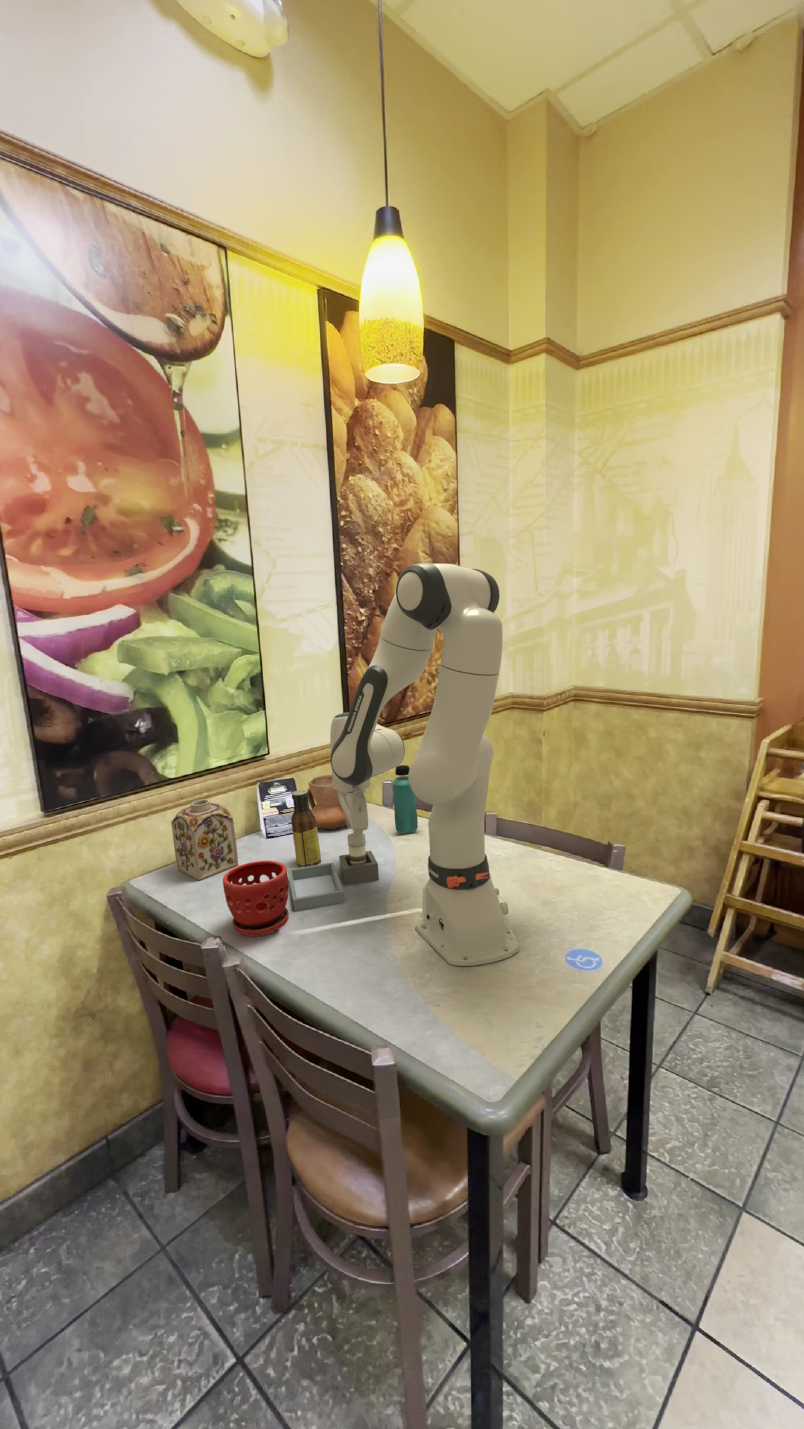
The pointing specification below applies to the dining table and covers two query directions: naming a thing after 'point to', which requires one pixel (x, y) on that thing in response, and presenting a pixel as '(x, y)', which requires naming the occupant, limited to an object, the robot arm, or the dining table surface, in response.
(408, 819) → the beverage bottle
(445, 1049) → the dining table surface
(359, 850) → the cylinder
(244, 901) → the plant pot
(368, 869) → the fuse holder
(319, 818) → the ceramic jug
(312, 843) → the sauce bottle
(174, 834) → the decorative jar
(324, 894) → the parts tray
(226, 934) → the dining table surface
